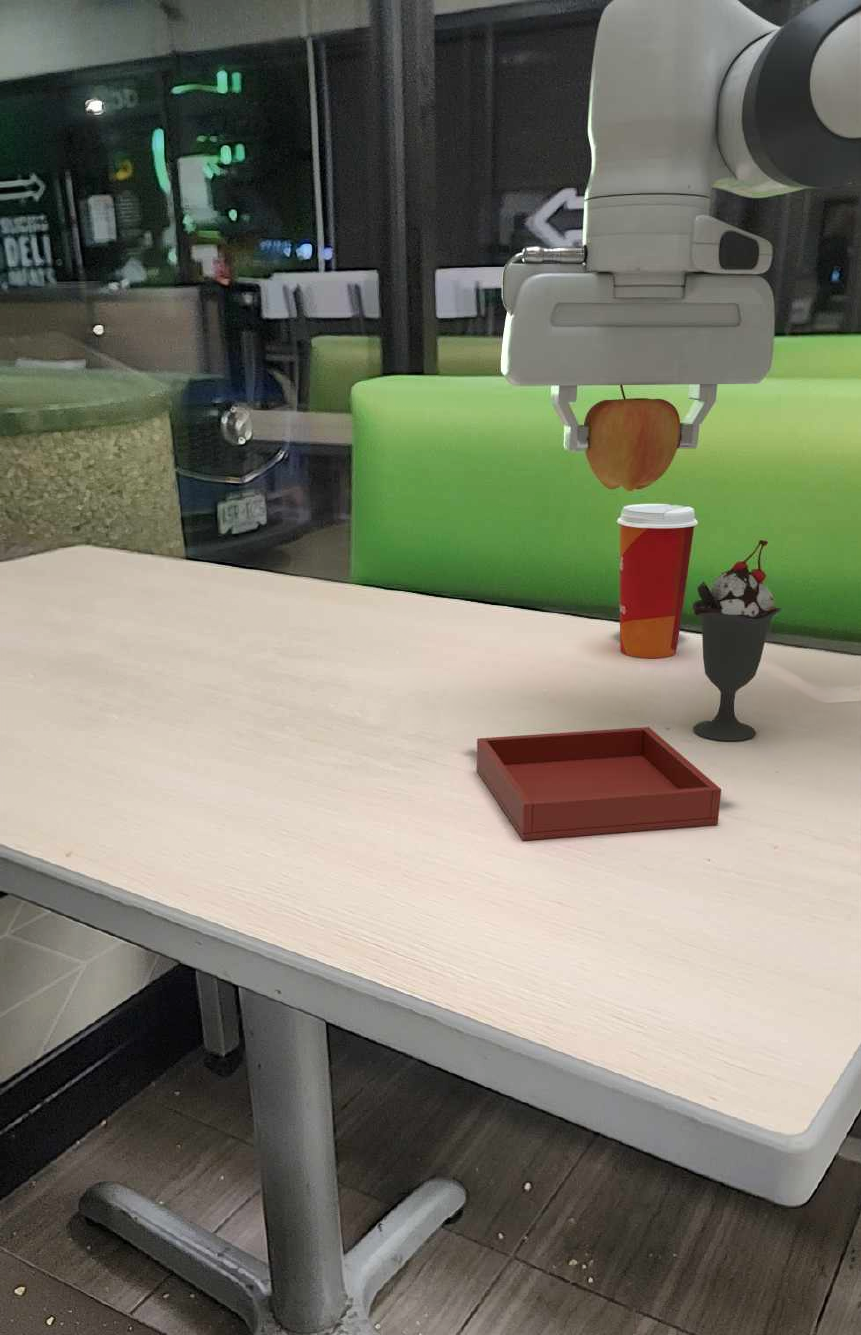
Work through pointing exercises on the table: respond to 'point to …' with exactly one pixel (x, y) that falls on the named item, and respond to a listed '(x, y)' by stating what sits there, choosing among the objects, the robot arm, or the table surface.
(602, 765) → the red tray
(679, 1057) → the table surface
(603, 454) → the apple
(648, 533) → the paper cup
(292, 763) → the table surface
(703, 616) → the sundae
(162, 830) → the table surface
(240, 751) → the table surface
